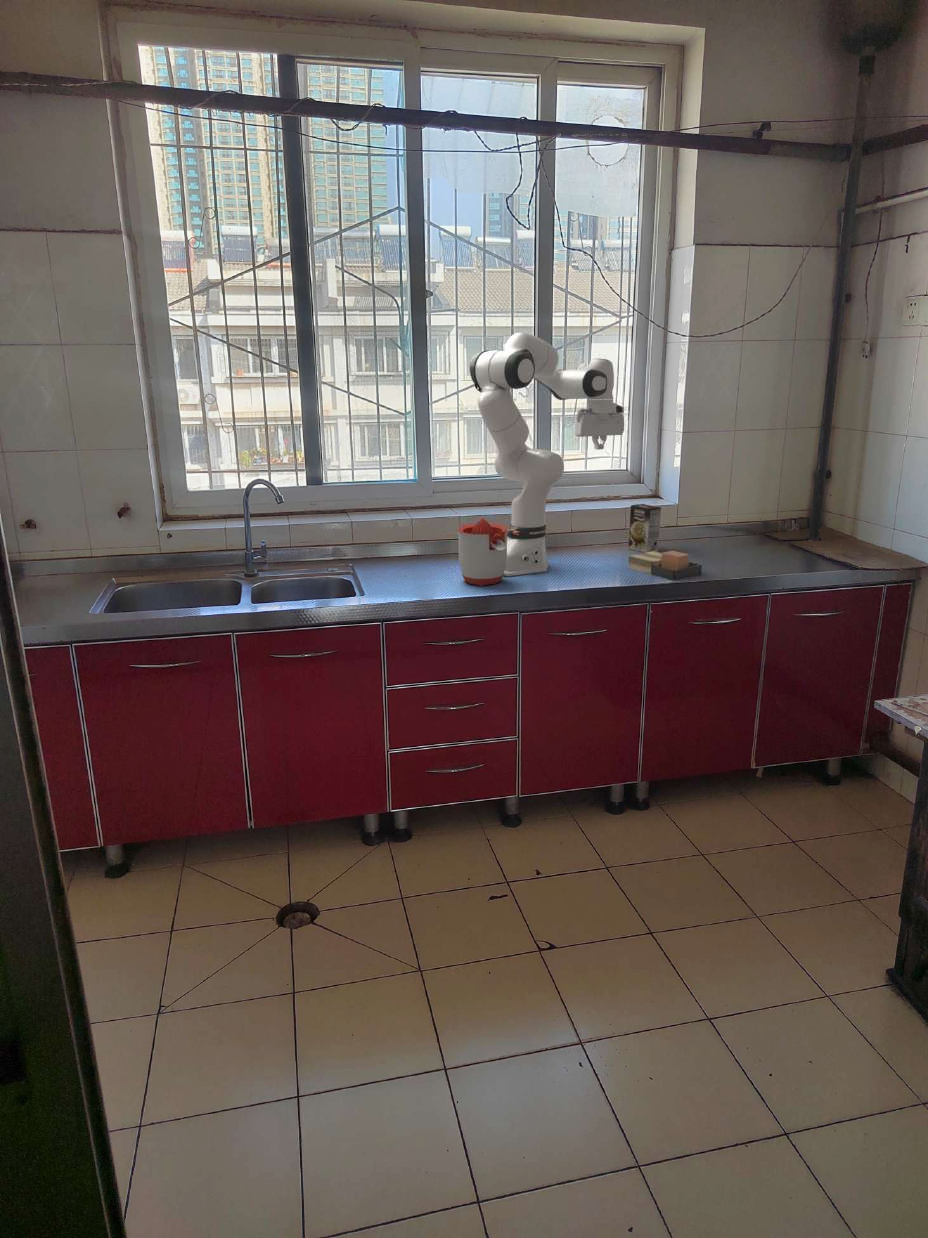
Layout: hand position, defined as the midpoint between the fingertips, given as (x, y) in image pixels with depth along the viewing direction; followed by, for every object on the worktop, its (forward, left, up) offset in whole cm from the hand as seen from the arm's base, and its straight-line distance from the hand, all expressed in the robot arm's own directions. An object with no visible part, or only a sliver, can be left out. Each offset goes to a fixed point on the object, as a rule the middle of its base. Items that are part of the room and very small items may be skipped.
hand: (599, 449), depth 282 cm
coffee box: (+14, -10, -36) cm, 40 cm away
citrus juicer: (-57, -10, -36) cm, 68 cm away
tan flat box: (-3, -30, -36) cm, 47 cm away
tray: (-3, -40, -36) cm, 54 cm away
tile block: (-3, -36, -32) cm, 48 cm away
